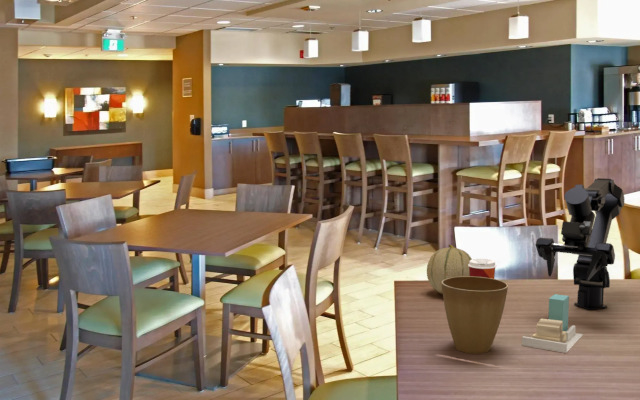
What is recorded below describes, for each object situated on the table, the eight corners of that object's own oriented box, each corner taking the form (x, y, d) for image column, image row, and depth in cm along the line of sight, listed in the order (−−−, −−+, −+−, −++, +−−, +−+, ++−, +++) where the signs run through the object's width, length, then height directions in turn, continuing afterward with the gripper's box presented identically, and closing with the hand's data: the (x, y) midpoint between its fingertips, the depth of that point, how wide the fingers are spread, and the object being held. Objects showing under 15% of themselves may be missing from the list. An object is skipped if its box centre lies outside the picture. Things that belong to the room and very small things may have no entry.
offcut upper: (540, 328, 167) (540, 318, 167) (562, 331, 165) (562, 320, 165) (536, 335, 162) (536, 325, 162) (558, 338, 160) (559, 327, 160)
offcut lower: (540, 337, 169) (540, 327, 168) (566, 341, 165) (566, 331, 165) (531, 345, 163) (532, 335, 162) (558, 350, 159) (558, 339, 159)
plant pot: (494, 365, 152) (496, 293, 150) (430, 354, 159) (431, 285, 158) (514, 346, 164) (516, 279, 162) (454, 336, 172) (455, 272, 170)
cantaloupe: (437, 302, 203) (438, 252, 202) (419, 290, 218) (419, 243, 216) (484, 299, 207) (485, 249, 205) (462, 287, 221) (463, 240, 219)
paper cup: (496, 314, 190) (497, 264, 189) (467, 313, 192) (468, 263, 190) (494, 307, 198) (495, 258, 196) (467, 305, 200) (467, 257, 198)
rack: (541, 330, 176) (542, 320, 176) (583, 336, 171) (583, 326, 170) (521, 347, 163) (522, 336, 163) (565, 355, 158) (566, 344, 157)
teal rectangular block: (553, 331, 173) (554, 294, 172) (567, 333, 171) (568, 295, 170) (547, 336, 169) (549, 298, 168) (562, 339, 167) (563, 300, 166)
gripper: (538, 207, 183) (524, 255, 175) (614, 211, 172) (603, 263, 165) (546, 232, 190) (533, 280, 182) (619, 238, 180) (608, 289, 172)
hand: (567, 277), depth 175 cm, fingers open, 9 cm apart
